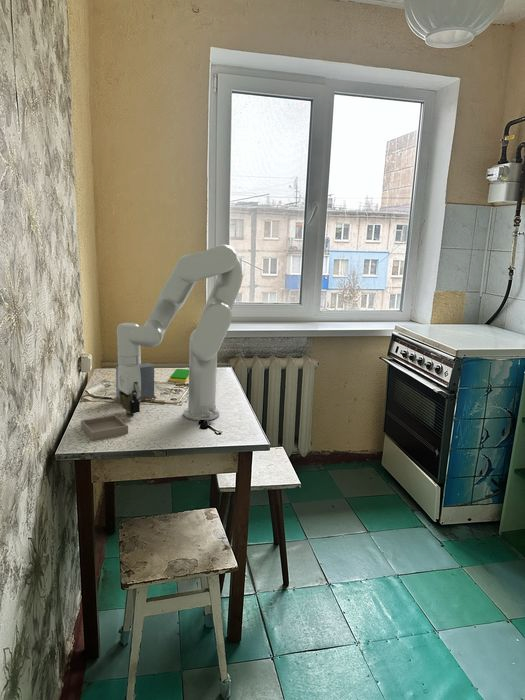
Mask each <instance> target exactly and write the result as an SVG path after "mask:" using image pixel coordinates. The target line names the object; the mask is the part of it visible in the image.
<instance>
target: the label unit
mask: <svg viewBox="0 0 525 700" xmlns="http://www.w3.org/2000/svg"><path fill="white" fill-rule="evenodd" d="M118 366H119V365H117V366H115V389H116V390H115V391H116V393H115V397H114V400H115V399H116V401H115V402H116V403H117V404H119V405H121V402H120V395H119V391H121V390H120V389H119V388H118ZM139 367H140V376H141V401H140V402H144V401H143V400H146V399H152V398H156V399H157V396H156V395H155V365H153V364H152V363H150V362H146V363H141V364H140V365H139ZM152 400H153V399H152ZM146 401H147V400H146ZM121 406H122V405H121Z"/></svg>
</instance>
